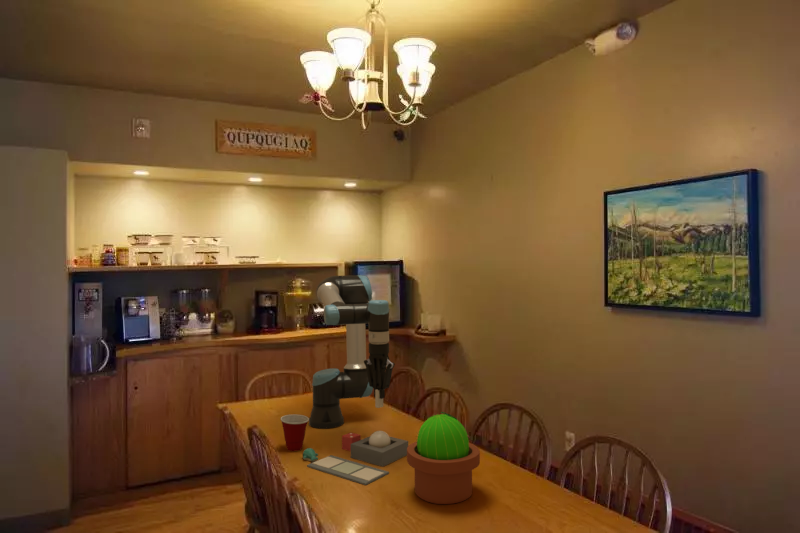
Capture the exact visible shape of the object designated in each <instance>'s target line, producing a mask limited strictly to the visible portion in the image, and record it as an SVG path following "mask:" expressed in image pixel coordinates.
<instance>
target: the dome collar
mask: <svg viewBox="0 0 800 533" xmlns="http://www.w3.org/2000/svg"><path fill="white" fill-rule="evenodd" d="M370 436H371V435H369V436H366V437H365V438H361V440H359V441H357V442H355V443H352V444H351V451H350V458H351V459H354V460H358V461H360V462H364V463H368V464H371V465H375V466H379V467H385V466H388V465H389V464H392V463H393V462H396V461H398V460H400V459H402V458H405V457H407V447H408V446H409V440H406V439H401V438H396V437H393V436H390V435H389V437H390V441H391V443H390V445H388V446H386V447H384V448H382V449H381V448H377V447H374V446H370V445H369V438H370Z"/></svg>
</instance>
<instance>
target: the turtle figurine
mask: <svg viewBox="0 0 800 533" xmlns="http://www.w3.org/2000/svg"><path fill="white" fill-rule="evenodd" d="M318 456H319V453H317V452H316V450H314V449H313V448H312V447H308V448H306V449H304V450H303V452H302V459H303V460H304V461H309V462H311V463H313V462H315V461H318V460H319V457H318Z"/></svg>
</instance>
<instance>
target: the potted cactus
mask: <svg viewBox="0 0 800 533" xmlns="http://www.w3.org/2000/svg"><path fill="white" fill-rule="evenodd" d="M440 413H441V414H439V413H437V414H436V415H435V414H434V413H433V415H431V416H429V417H428V418H427V420H426V419H425V421H424V422H423V421H422V424H421V426H420V428H419V430H418V432H416V433H417V435H416V436H417V438H416V441H415V442H412V443H410V444H408V447H407V455H406V463H407V464H408V465H409V466H410V467H411V468H412V469H414V492H415V494H416V496H418V498H420V499H421V500H423V501H425V502H428V503H431V504H436V505H451V504H452V505H453V504H457V503H461V502H464V501H466V500H468V499H469V498H471V496H472V495H473V494H472V493H473V470H475V469H476V468H478V467H479V466H480V463H481V462H480V461H481V453H480V451H481V450H480V449H479V447H477V446H476V445H475V444H474V443H472V442H470V440H469V439H470V435H469V434H468V432H467V429H466V428H465V427H464V424H462V423H461V422H460V420H459V418H457V417H455V416H453V415H451V414H450V413H447V412H445V411H444V412H443V411H441V412H440Z"/></svg>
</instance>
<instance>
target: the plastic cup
mask: <svg viewBox="0 0 800 533" xmlns="http://www.w3.org/2000/svg"><path fill="white" fill-rule="evenodd" d="M309 418H310V417H308V416H306V415H303V414H295V413H294V414H286V415H283V416H281V417H280V421H281V425H282V426H281V427H282V430H283V435H284V441H285V445H286V450H287V451H288V452H298V451H301V450H302V449H303V446H304V440H305V435H306V431H307V430H306V429H307V427H308V426H307V425H308V423H309Z"/></svg>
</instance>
